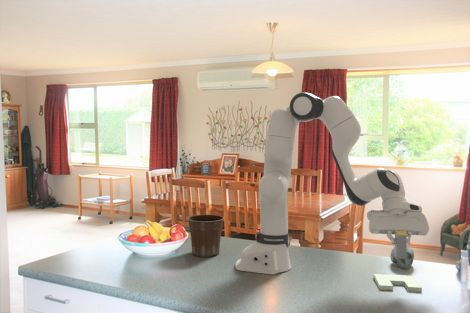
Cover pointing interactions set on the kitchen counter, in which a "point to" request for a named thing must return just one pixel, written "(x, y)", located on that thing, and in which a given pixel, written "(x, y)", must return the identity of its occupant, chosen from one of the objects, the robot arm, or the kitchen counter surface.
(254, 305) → the kitchen counter surface
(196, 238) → the plant pot
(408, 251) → the grey oval lump
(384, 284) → the notched board
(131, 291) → the kitchen counter surface
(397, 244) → the grey and yellow block
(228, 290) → the kitchen counter surface
